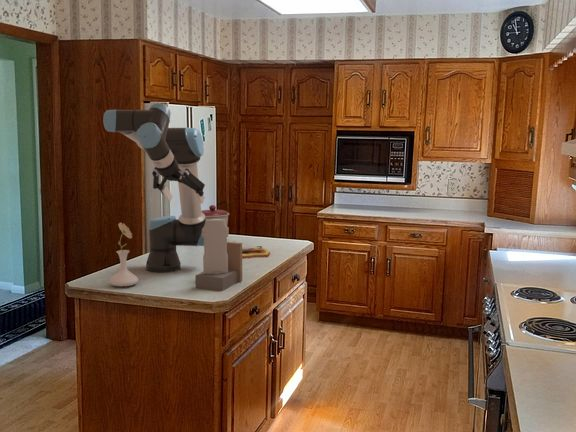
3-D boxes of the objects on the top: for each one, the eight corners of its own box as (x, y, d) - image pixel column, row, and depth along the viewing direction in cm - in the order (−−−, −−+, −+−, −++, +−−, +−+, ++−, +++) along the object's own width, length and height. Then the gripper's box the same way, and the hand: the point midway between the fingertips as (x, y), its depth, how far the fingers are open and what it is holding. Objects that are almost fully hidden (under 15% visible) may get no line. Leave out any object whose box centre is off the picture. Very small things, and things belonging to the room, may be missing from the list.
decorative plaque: (208, 245, 286) (208, 238, 306) (208, 260, 287) (209, 252, 307) (271, 244, 289) (268, 237, 309) (271, 259, 290) (268, 251, 310)
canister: (230, 240, 336) (229, 203, 333) (229, 246, 318) (228, 207, 315) (197, 240, 335) (196, 203, 332) (195, 246, 317) (194, 207, 314)
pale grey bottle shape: (203, 275, 235) (202, 219, 232) (201, 272, 239) (200, 218, 236) (229, 273, 238) (229, 218, 235) (227, 271, 242) (227, 217, 239)
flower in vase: (140, 287, 236) (138, 224, 232) (110, 290, 232) (107, 226, 228) (136, 279, 248) (134, 219, 244) (107, 281, 244) (105, 221, 240)
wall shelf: (193, 287, 236) (192, 247, 234) (211, 278, 251) (211, 240, 249) (225, 290, 231) (225, 250, 229) (242, 281, 246) (242, 242, 244)
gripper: (129, 168, 209) (153, 206, 225) (192, 170, 201) (213, 209, 217) (137, 152, 213) (160, 190, 229) (200, 154, 205) (219, 193, 221)
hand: (186, 199), depth 223 cm, fingers open, 13 cm apart
